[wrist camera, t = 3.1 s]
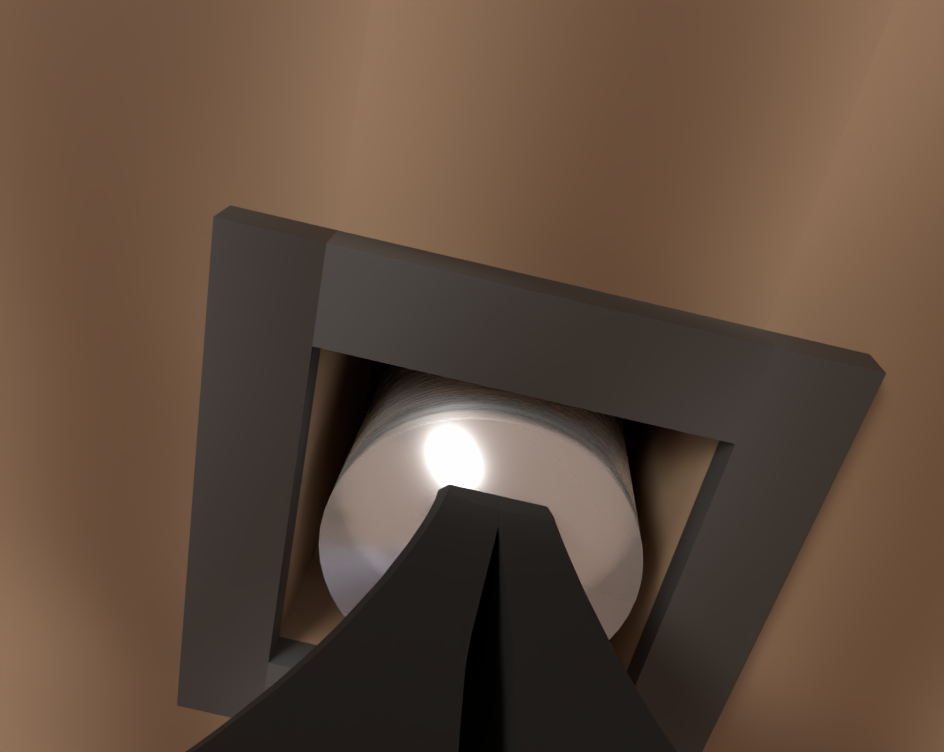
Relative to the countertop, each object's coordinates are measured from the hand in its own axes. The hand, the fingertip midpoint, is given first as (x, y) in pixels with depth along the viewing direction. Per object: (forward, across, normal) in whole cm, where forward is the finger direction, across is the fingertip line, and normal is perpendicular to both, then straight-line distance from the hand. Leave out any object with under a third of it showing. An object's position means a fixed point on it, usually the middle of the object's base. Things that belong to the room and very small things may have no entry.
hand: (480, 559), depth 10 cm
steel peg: (+5, 0, 0) cm, 5 cm away
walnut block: (+5, 0, 0) cm, 5 cm away
